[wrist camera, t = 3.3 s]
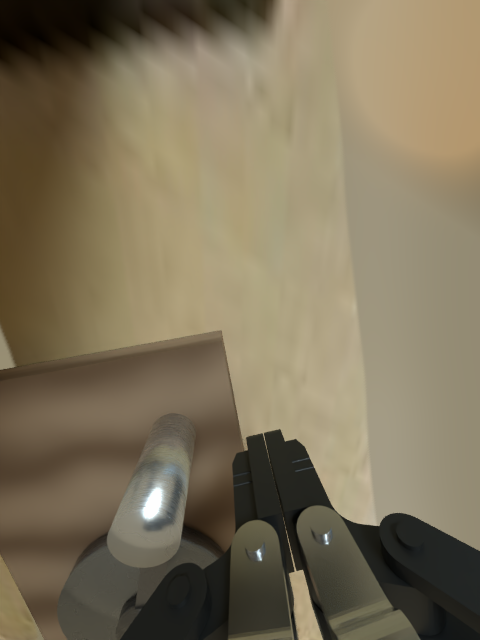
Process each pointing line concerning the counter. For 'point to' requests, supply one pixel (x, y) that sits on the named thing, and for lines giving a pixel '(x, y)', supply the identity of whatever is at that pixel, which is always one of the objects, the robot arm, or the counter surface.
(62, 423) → the stand
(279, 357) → the counter surface
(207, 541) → the gray disc with handle
